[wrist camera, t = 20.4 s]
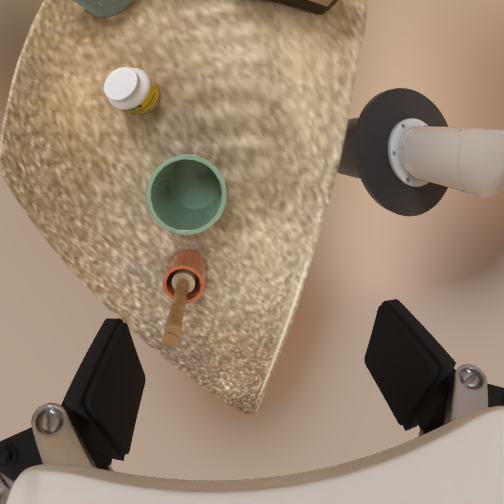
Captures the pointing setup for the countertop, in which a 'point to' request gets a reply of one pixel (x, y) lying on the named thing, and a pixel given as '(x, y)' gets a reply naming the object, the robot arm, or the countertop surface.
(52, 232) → the countertop surface
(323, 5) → the bottle
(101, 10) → the blue-gray pot
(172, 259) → the holder
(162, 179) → the tumbler
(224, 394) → the countertop surface
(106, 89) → the supplement bottle
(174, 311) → the brush
